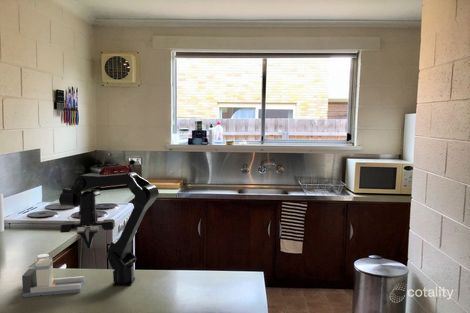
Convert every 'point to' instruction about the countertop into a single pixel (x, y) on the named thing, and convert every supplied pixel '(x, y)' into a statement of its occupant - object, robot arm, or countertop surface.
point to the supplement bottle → (42, 257)
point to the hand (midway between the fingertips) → (89, 247)
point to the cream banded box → (44, 272)
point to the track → (56, 288)
